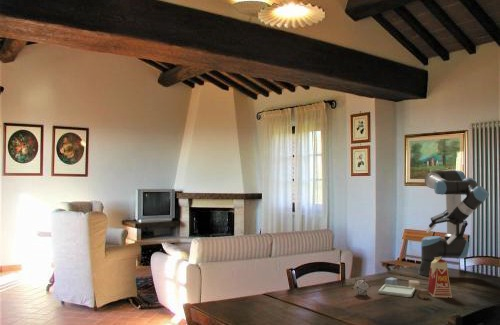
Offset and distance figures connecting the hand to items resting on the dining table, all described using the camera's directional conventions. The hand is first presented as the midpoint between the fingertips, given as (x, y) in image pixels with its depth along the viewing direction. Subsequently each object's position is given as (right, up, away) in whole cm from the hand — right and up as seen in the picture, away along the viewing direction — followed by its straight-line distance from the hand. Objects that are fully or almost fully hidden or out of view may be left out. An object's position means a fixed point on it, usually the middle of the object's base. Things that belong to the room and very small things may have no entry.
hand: (437, 237), depth 251 cm
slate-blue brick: (-26, -27, -2) cm, 37 cm away
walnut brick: (-18, -26, -26) cm, 41 cm away
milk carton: (-8, -26, -21) cm, 35 cm away
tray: (-28, -26, -16) cm, 41 cm away
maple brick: (-16, -26, -8) cm, 32 cm away
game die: (-48, -26, -24) cm, 59 cm away
